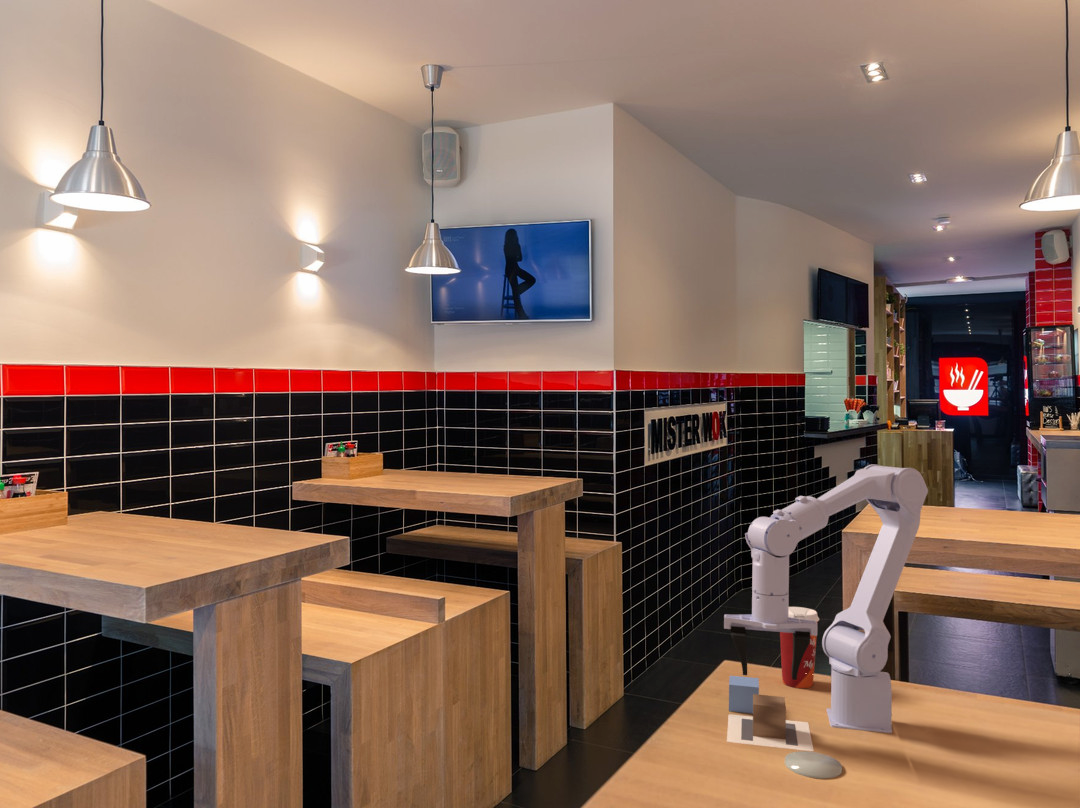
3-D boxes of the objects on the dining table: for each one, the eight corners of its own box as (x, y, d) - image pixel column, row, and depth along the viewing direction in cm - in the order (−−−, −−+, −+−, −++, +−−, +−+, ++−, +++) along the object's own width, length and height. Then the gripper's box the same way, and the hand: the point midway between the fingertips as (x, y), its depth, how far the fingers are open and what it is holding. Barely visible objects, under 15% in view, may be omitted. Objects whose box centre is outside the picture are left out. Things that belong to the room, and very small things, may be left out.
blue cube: (758, 706, 145) (758, 678, 145) (758, 716, 140) (758, 687, 140) (729, 703, 146) (729, 675, 146) (728, 713, 141) (729, 684, 141)
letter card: (808, 724, 137) (808, 722, 137) (813, 753, 125) (813, 751, 125) (728, 715, 140) (728, 713, 140) (726, 743, 128) (726, 741, 128)
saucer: (838, 760, 123) (838, 754, 123) (845, 783, 115) (845, 777, 115) (783, 753, 125) (783, 748, 125) (785, 776, 117) (785, 771, 117)
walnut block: (784, 727, 134) (784, 697, 134) (785, 739, 129) (785, 707, 129) (752, 724, 135) (753, 693, 135) (752, 735, 131) (753, 704, 131)
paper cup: (821, 691, 152) (822, 616, 153) (778, 688, 154) (779, 614, 154) (815, 678, 160) (816, 607, 160) (775, 675, 162) (776, 604, 162)
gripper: (723, 594, 130) (722, 679, 130) (819, 600, 127) (818, 688, 127) (725, 585, 137) (724, 665, 137) (815, 590, 134) (814, 673, 134)
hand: (769, 675), depth 132 cm, fingers open, 7 cm apart
